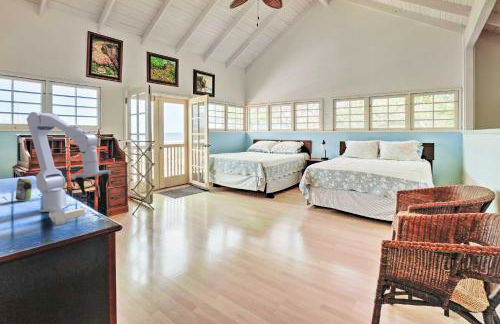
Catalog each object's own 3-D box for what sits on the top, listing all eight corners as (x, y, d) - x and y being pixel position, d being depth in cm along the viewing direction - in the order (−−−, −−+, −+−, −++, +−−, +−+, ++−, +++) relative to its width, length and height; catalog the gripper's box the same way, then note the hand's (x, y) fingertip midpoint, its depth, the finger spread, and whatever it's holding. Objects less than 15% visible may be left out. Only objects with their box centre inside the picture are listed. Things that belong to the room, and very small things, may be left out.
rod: (54, 223, 106) (54, 215, 106) (51, 221, 108) (51, 214, 108) (84, 216, 115) (84, 209, 115) (81, 214, 117) (81, 208, 117)
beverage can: (15, 200, 140) (13, 177, 139) (33, 198, 146) (31, 176, 144) (16, 202, 136) (13, 179, 135) (34, 200, 141) (32, 177, 140)
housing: (49, 217, 113) (48, 206, 112) (58, 215, 115) (57, 204, 114) (56, 225, 103) (55, 213, 102) (65, 223, 105) (64, 211, 104)
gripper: (72, 164, 108) (76, 197, 109) (111, 160, 118) (114, 190, 119) (69, 163, 113) (73, 195, 114) (106, 160, 123) (110, 189, 124)
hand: (94, 193), depth 117 cm, fingers open, 7 cm apart
